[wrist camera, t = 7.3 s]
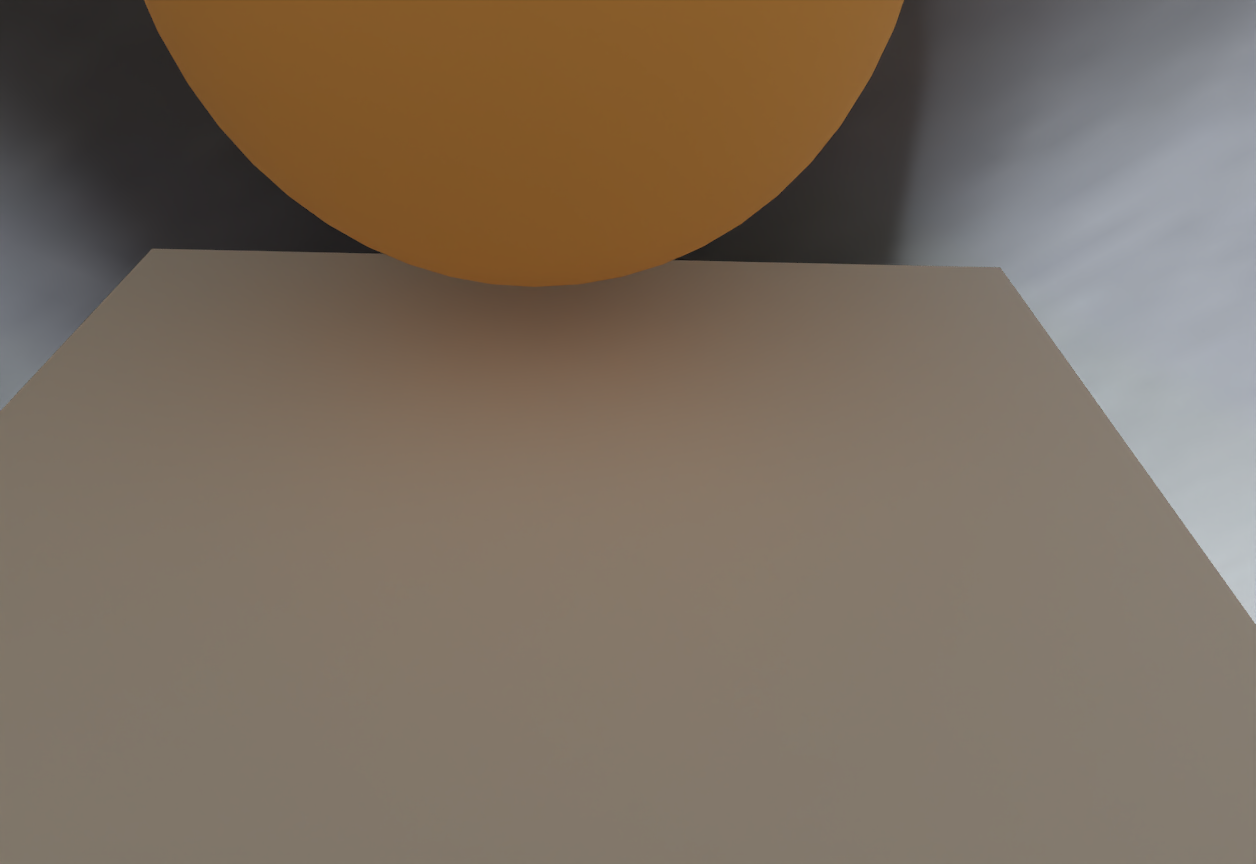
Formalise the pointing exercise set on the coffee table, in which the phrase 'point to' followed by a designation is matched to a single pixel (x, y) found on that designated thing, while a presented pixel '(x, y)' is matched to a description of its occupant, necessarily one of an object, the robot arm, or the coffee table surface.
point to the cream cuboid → (598, 579)
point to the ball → (529, 118)
